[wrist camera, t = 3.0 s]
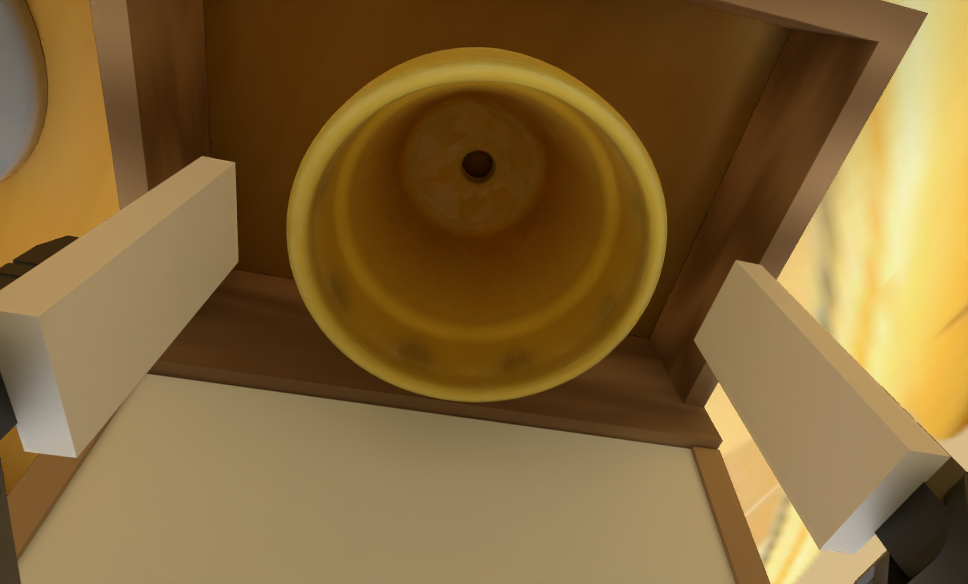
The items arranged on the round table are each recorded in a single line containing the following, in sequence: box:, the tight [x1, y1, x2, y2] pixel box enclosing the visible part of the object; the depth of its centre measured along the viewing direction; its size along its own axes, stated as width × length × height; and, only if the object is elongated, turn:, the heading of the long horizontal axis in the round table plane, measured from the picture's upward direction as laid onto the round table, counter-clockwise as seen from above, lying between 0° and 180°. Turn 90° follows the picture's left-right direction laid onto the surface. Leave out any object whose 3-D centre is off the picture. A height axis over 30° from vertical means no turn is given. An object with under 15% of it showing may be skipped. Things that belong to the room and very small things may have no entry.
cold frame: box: [90, 0, 928, 450], centre depth 19 cm, size 17×24×7 cm
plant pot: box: [286, 47, 667, 402], centre depth 18 cm, size 10×10×10 cm
